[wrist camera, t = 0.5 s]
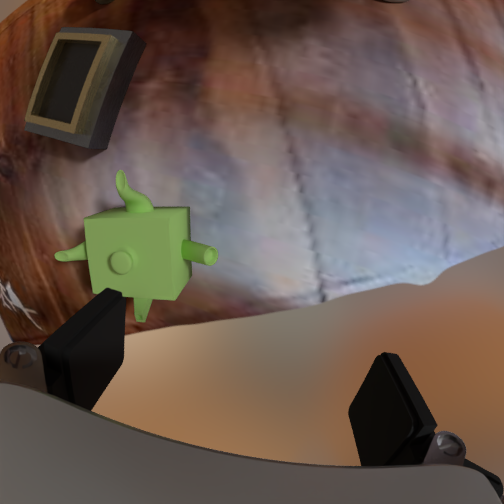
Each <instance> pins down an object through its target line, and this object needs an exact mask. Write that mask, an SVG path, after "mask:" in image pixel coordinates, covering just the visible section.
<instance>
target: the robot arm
mask: <svg viewBox="0 0 504 504" xmlns="http://www.w3.org/2000/svg"><path fill="white" fill-rule="evenodd" d="M385 1H389V2H406V1H409V0H385ZM125 312H126V298H125V297H123V296H122V292H120V291H117V290H114V289H111V288H105V289H104V290H103V291H102V292H100V293H99V294H98V295H97V296H96V297H94V298H93V299H92V300H91V301H90V302H89V303H87V304H86V305H85V306H84V307H83V308H82V309H80V310H79V311H78V312H77V313H76V314H75V315H73V316H72V317H71V318H70V319H69V320H68V321H67V322H65V323H64V324H63V325H62V326H61V327H60V328H59V329H57V330H56V331H55V332H54V333H53V334H52V335H51V336H50V337H49V338H47V339H46V340H45V341H44V342H43V343H42V344H41V345H40V346H39V347H38V348H37V347H36V346H35V345H33V344H31V343H27V342H14V343H11V344H8V345H7V346H5V347H4V348H3V349H2V351H1V352H0V504H504V495H502V494H503V485H502V483H501V480H500V478H499V477H498V476H496V475H494V474H493V473H491V472H489V471H487V470H485V469H483V468H481V467H480V466H478V465H476V464H474V463H472V462H471V461H469V460H467V459H465V455H466V446H465V444H464V442H463V441H462V439H460V438H459V437H458V436H457V435H455V434H454V433H451V432H448V431H441V432H438V433H436V434H435V432H434V429H435V428H436V427H437V424H436V421H435V420H434V418H433V416H432V414H431V412H430V410H429V409H428V407H427V405H426V403H425V401H424V399H423V397H422V396H421V394H420V392H419V390H418V388H417V387H416V385H415V383H414V381H413V380H412V378H411V376H410V375H409V373H408V371H407V369H406V368H405V366H404V364H403V362H402V361H401V359H400V358H399V356H398V355H397V354H393V353H386V352H384V353H382V354H381V355H378V356H377V357H376V358H375V360H374V363H373V364H372V366H371V368H370V370H369V372H368V374H367V376H366V378H365V380H364V382H363V384H362V385H361V387H360V389H359V391H358V393H357V395H356V396H355V398H354V400H353V402H352V403H351V405H350V407H349V412H348V414H349V419H350V422H351V426H352V430H353V434H354V438H355V442H356V446H357V449H358V454H359V458H360V462H361V466H335V465H317V464H304V463H293V462H285V461H277V460H268V459H262V458H256V457H249V456H243V455H238V454H233V453H228V452H223V451H218V450H213V449H209V448H205V447H200V446H196V445H192V444H188V443H184V442H181V441H177V440H173V439H170V438H166V437H162V436H159V435H156V434H153V433H150V432H146V431H144V430H141V429H137V428H135V427H132V426H129V425H126V424H124V423H121V422H118V421H115V420H112V419H110V418H107V417H105V416H102V415H99V414H97V413H95V412H92V411H91V410H92V409H93V407H94V405H95V404H96V402H97V401H98V399H99V398H100V396H101V395H102V393H103V392H104V390H105V389H106V387H107V386H108V384H109V383H110V381H111V380H112V378H113V377H114V375H115V374H116V372H117V371H118V369H119V368H120V366H121V365H122V363H123V359H124V335H125Z"/></svg>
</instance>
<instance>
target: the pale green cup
mask: <svg viewBox="0 0 504 504" xmlns="http://www.w3.org/2000/svg"><path fill="white" fill-rule="evenodd" d="M95 1H96V2H97V3H99V4H108V3H110V2H112V1H114V0H95Z"/></svg>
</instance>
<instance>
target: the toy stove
mask: <svg viewBox="0 0 504 504" xmlns="http://www.w3.org/2000/svg"><path fill="white" fill-rule="evenodd" d="M145 46H146V43H145V42H144V41H143V40H142V39H141V38H140V37H139V36H137V35H136V34H135V33H134V32H133V31H125V30H114V29H101V28H75V27H62V28H61V30H60V32H59V33H56V35H55V37H54V39H53V42H52V44H51V46H50V48H49V51H48V53H47V56H46V58H45V61H44V63H43V66H42V68H41V71H40V73H39V76H38V79H37V82H36V85H35V87H34V90H33V93H32V96H31V100H30V103H29V106H28V109H27V113H26V116H25V120H24V121H27V122H26V125H25V129H24V130H25V131H29V132H33V133H36V134H40V135H43V136H47V137H51V138H54V139H58V140H61V141H65V142H68V143H71V144H75V145H78V146H82V147H85V148H89V149H107V147H108V143H109V140H110V137H111V134H112V131H113V128H114V125H115V122H116V119H117V116H118V113H119V110H120V107H121V105H122V102H123V99H124V96H125V94H126V91H127V89H128V86H129V83H130V81H131V78H132V76H133V74H134V71H135V69H136V66H137V64H138V62H139V60H140V57H141V55H142V53H143V51H144V48H145Z"/></svg>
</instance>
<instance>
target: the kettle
mask: <svg viewBox="0 0 504 504" xmlns="http://www.w3.org/2000/svg"><path fill="white" fill-rule="evenodd" d="M116 188H117V191H118V193H119V195H120V197H121V198H122V199H123V200H124V202H125V205H126V207H119V208H112V209H109V210H106V211H103V212H100V213H97V214H94V215H91V216H88V217H85V218H84V227H85V239H86V241H84V242H83V243H81V244H80V245H78V246H76V247H74V248H72V249H69V250H65V251H60V252H57V253H56V254H55V258H56V259H57V260H59V261H63V262H65V261H75V260H88V264H89V271H90V277H91V283H92V290H93V293H95V294H99V293H100V292H102V291H103V290H104V289H105V288H111V289H114V290H117V291H120V292H122V296H123V297H133V298H134V310H135V312H134V315H135V318H136V321H137V322H145V321H146V318H147V315H148V311H149V308H150V305H151V302H152V299H161V300H176V298H177V297H178V295H179V294H180V292H181V291H182V289H183V288H184V286H185V285H186V283H187V282H188V280H189V279H190V278H191V276H192V263H191V261H194V262H197V263H201V264H205V265H208V266H211V265H213V264H215V262H216V261H217V259H218V251H217V249H216V248H215V247H211V246H208V245H204V244H200V243H197V242H193V241H191V237H190V207H153V205H152V203H151V201H150V200H149V198H148V197H147V196H145V195H144V194H142V193H140V192H137V191H135V190H133V189H131V188H130V187H129V185H128V182H127V179H126V176H125V174H124V172H123V171H122V170H119V171H118V172H117V175H116Z"/></svg>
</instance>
